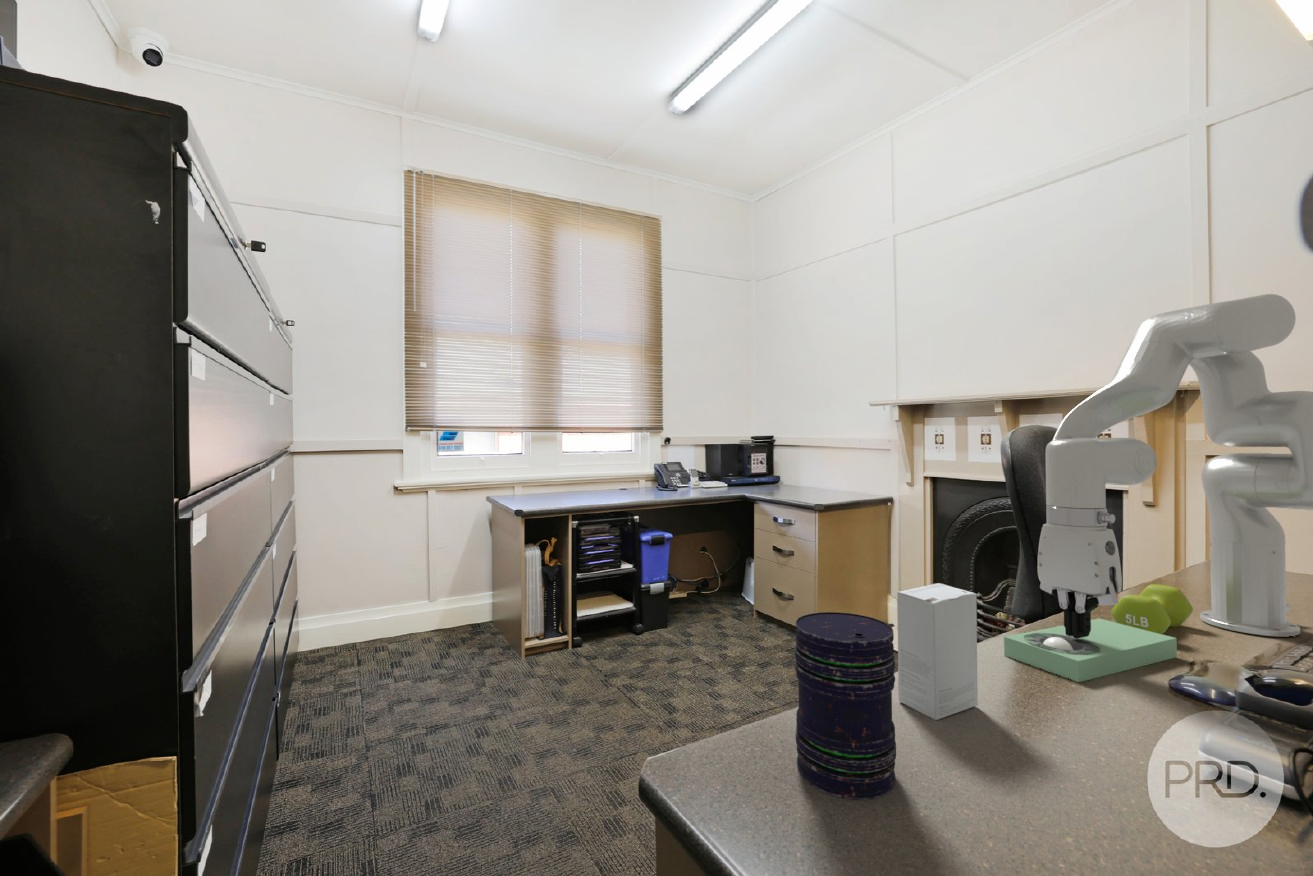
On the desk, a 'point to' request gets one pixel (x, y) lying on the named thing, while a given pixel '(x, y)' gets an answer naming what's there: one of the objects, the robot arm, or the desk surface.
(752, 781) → the desk surface
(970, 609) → the skincare box
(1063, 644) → the white egg
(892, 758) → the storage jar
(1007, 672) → the desk surface
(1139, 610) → the dumbbell
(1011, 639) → the putting mat
